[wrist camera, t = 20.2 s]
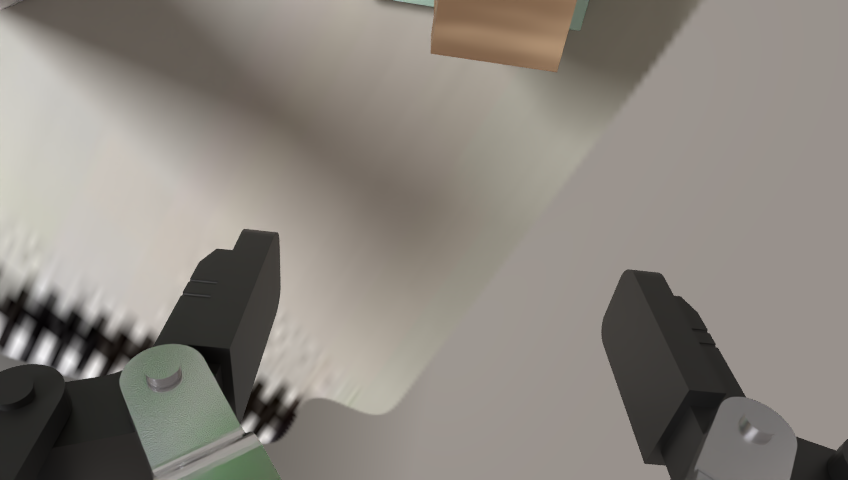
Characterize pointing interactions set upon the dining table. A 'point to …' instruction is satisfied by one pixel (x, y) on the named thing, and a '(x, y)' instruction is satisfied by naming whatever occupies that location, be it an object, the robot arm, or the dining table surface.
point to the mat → (575, 22)
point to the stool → (503, 31)
